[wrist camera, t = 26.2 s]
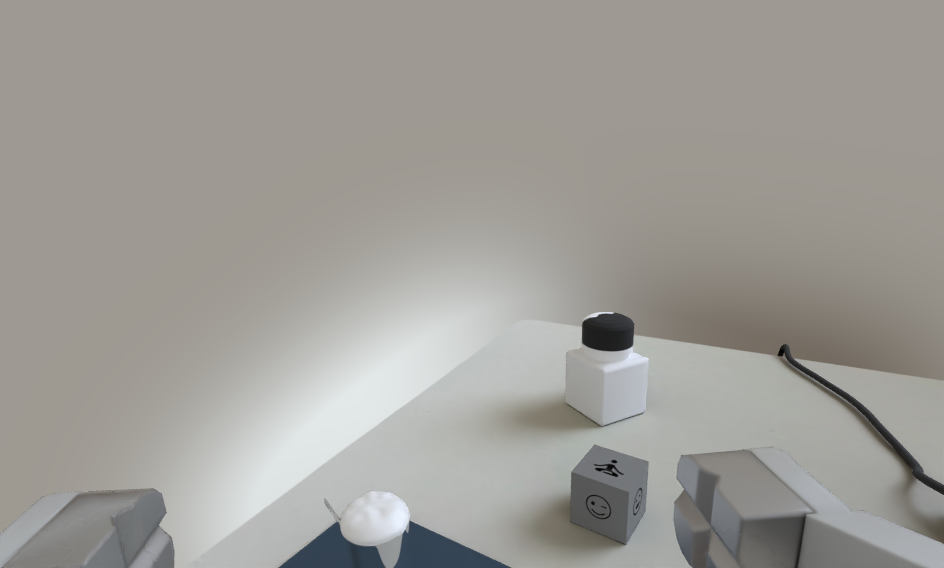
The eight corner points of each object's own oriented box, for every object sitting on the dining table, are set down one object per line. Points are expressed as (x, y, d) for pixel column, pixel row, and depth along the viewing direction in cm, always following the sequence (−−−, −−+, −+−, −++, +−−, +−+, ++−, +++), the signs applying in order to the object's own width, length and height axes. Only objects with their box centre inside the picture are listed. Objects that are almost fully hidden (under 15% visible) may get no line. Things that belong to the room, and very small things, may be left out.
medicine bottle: (646, 412, 64) (652, 319, 61) (601, 427, 61) (605, 330, 58) (607, 390, 70) (610, 304, 67) (564, 402, 67) (565, 313, 64)
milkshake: (339, 597, 38) (326, 478, 36) (412, 584, 39) (404, 467, 37) (337, 654, 34) (321, 523, 32) (419, 637, 35) (410, 509, 33)
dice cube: (570, 521, 46) (571, 471, 45) (592, 491, 50) (594, 444, 49) (626, 544, 43) (629, 492, 42) (645, 510, 47) (648, 461, 46)
